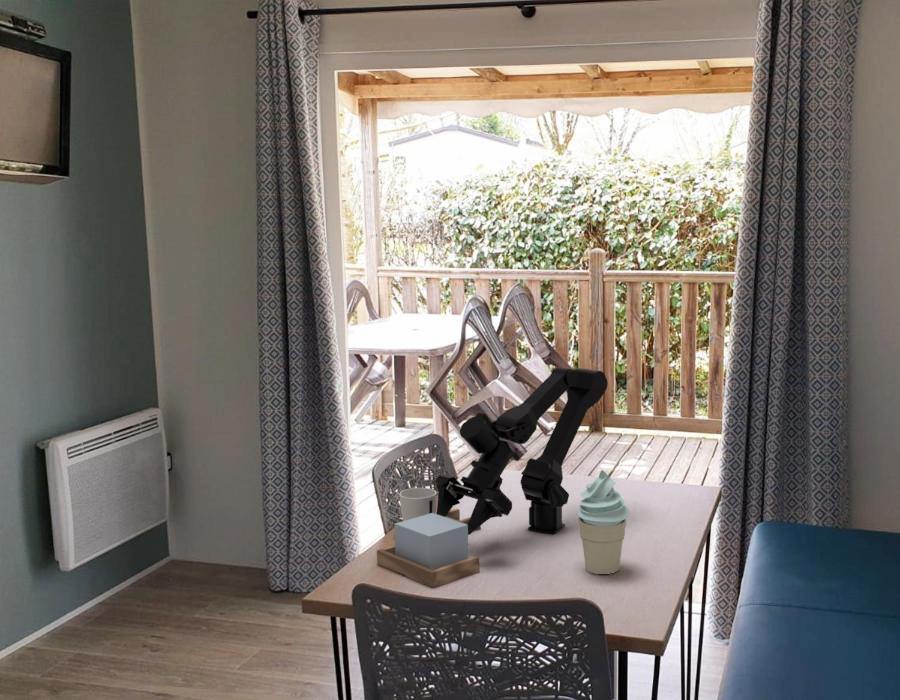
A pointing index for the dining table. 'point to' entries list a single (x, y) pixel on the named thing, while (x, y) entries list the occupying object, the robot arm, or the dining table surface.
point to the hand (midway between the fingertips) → (451, 528)
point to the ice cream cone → (602, 525)
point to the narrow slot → (458, 517)
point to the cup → (417, 502)
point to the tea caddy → (431, 541)
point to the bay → (424, 574)
